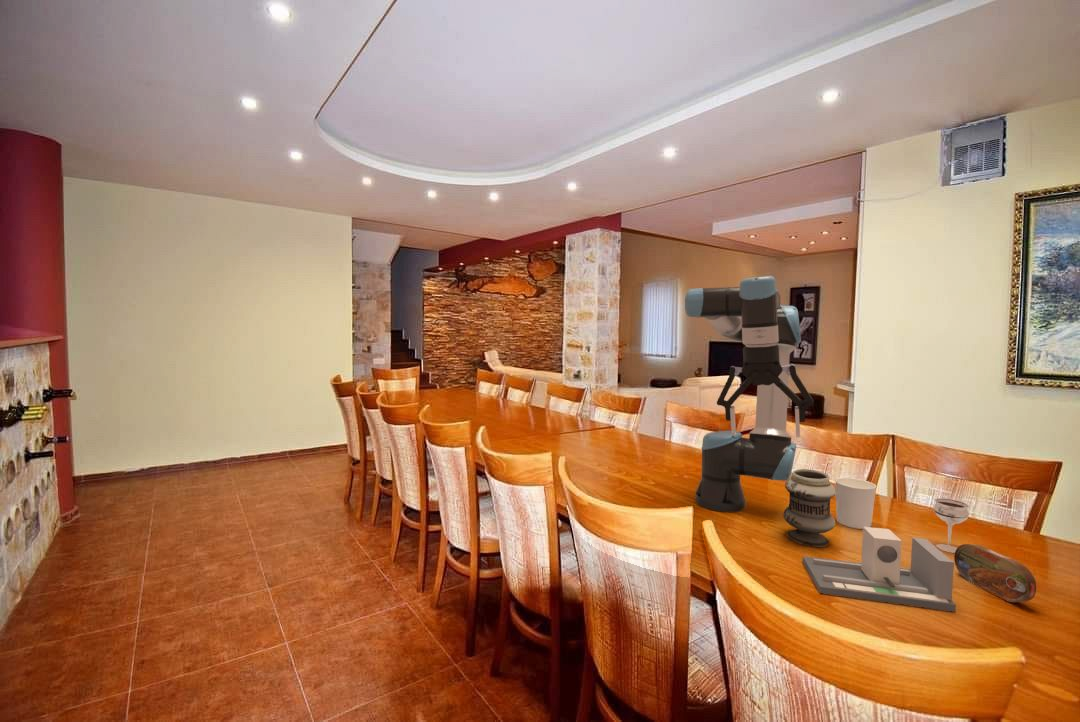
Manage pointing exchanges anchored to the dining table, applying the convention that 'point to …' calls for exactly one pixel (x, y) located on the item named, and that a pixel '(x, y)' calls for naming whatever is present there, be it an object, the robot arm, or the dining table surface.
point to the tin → (995, 573)
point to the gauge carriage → (881, 555)
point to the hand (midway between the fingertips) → (764, 434)
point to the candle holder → (854, 502)
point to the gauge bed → (916, 585)
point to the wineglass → (950, 517)
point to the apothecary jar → (809, 507)
